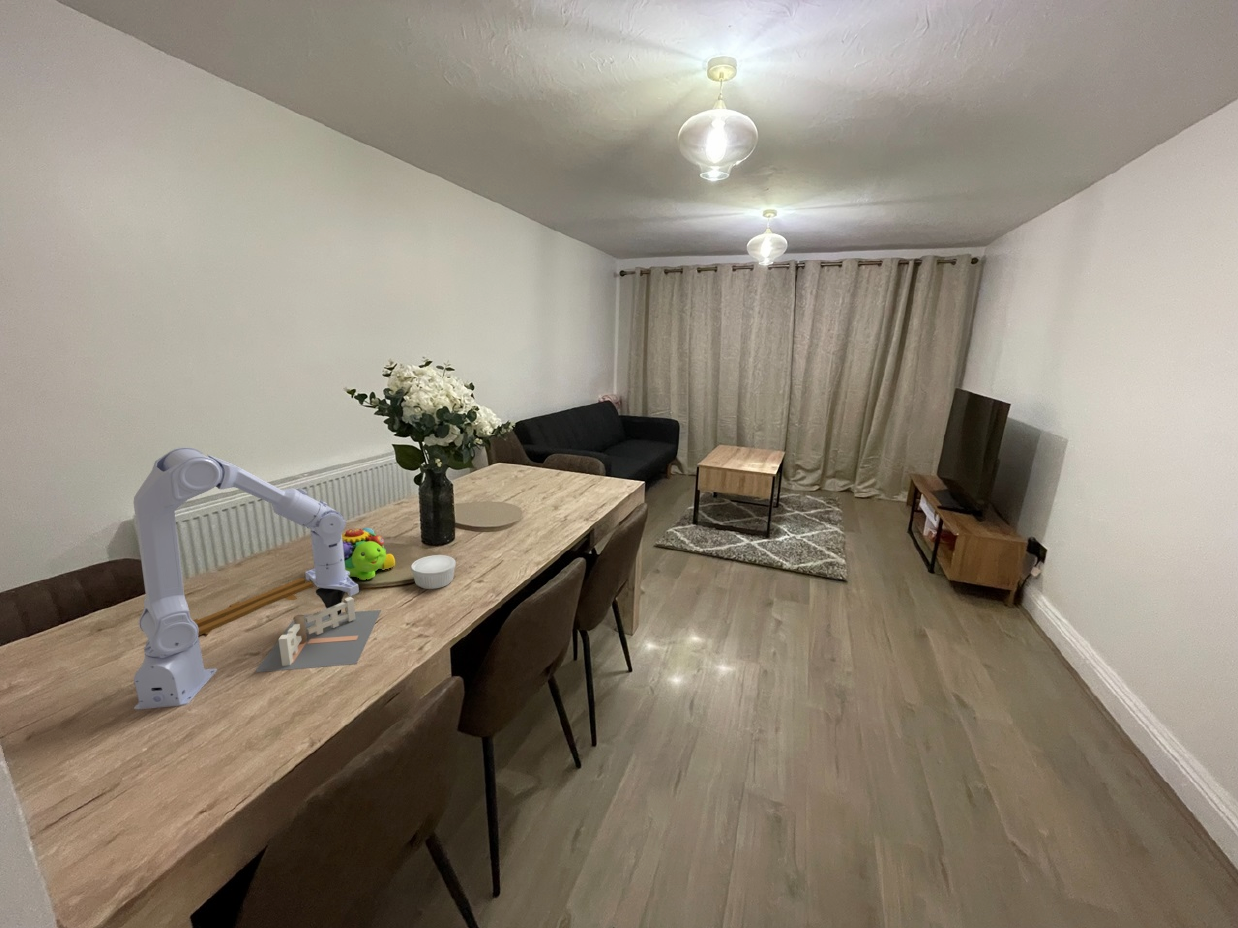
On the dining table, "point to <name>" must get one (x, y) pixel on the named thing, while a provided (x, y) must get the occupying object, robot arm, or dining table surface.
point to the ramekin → (433, 571)
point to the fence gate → (331, 616)
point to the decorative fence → (251, 605)
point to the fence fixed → (292, 640)
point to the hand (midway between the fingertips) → (335, 615)
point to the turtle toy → (365, 553)
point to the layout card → (327, 644)
